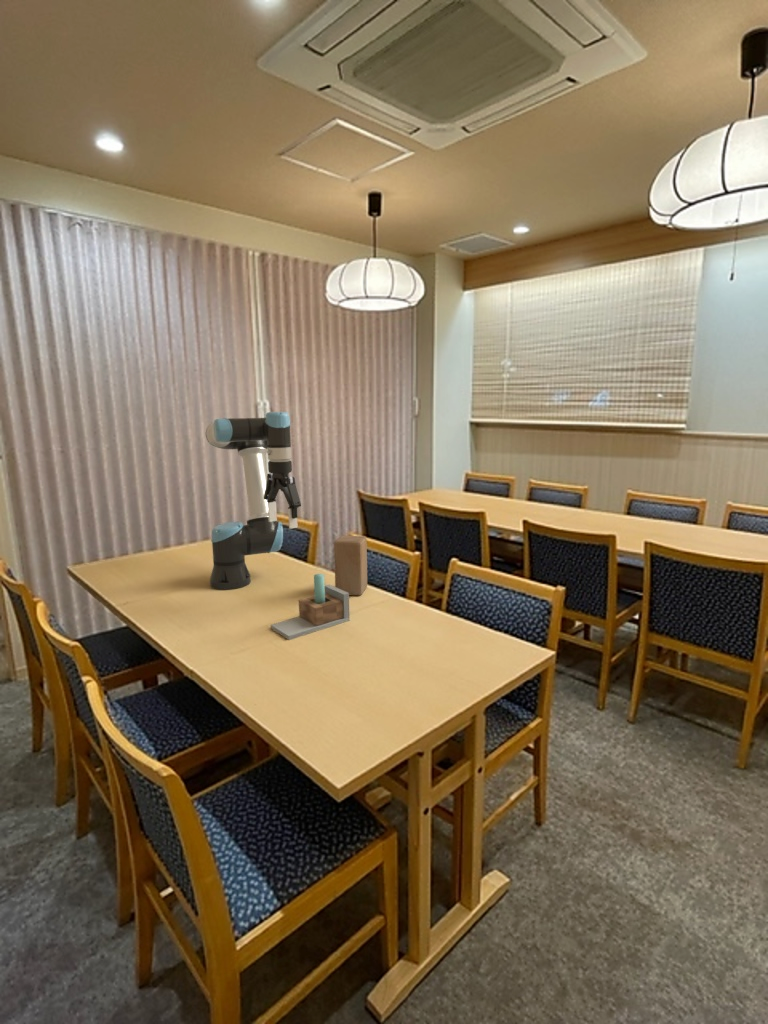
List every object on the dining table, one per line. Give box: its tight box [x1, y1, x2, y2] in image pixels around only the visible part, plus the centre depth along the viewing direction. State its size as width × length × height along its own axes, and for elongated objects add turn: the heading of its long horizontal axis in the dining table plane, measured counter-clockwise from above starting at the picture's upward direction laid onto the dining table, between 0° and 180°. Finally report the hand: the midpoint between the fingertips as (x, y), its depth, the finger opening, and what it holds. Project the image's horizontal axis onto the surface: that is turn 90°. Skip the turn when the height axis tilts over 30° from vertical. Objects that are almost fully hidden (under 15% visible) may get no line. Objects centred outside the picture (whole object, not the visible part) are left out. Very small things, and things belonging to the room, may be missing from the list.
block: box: [333, 534, 368, 596], centre depth 200 cm, size 10×10×20 cm
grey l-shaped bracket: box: [270, 584, 351, 641], centre depth 171 cm, size 11×22×9 cm, turn 130°
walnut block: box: [298, 593, 343, 626], centre depth 173 cm, size 10×10×6 cm
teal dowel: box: [313, 573, 326, 604], centre depth 173 cm, size 3×3×14 cm
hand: (282, 524), depth 181 cm, fingers open, 13 cm apart
